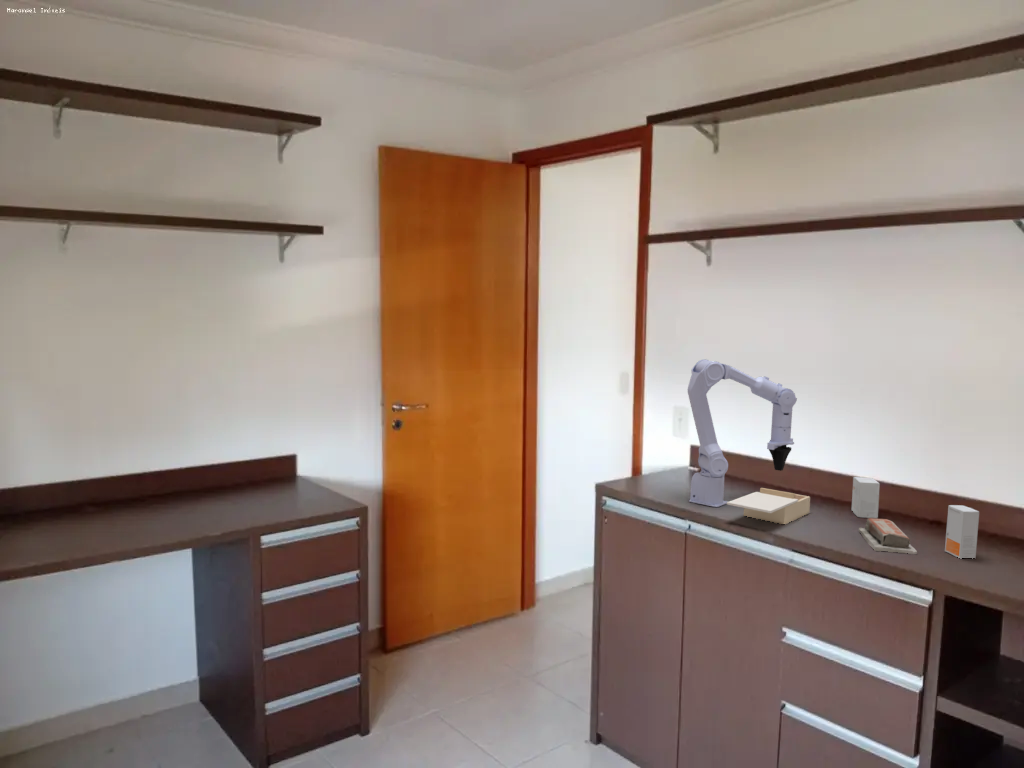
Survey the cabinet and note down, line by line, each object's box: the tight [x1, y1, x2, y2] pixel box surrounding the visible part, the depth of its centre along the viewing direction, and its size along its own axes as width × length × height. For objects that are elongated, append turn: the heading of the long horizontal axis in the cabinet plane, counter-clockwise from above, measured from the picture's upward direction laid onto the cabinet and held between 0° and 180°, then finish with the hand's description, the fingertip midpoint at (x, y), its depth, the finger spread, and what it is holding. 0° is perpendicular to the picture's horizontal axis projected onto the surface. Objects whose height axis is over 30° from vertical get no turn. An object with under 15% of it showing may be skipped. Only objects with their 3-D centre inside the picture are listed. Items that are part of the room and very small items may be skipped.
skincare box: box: [944, 504, 980, 560], centre depth 189 cm, size 6×4×12 cm
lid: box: [726, 487, 798, 513], centre depth 216 cm, size 13×19×2 cm, turn 138°
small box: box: [851, 476, 881, 519], centre depth 226 cm, size 8×6×10 cm
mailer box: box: [743, 493, 811, 525], centre depth 224 cm, size 12×18×5 cm, turn 138°
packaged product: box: [858, 518, 918, 555], centre depth 199 cm, size 18×5×10 cm
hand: (778, 469), depth 237 cm, fingers closed
